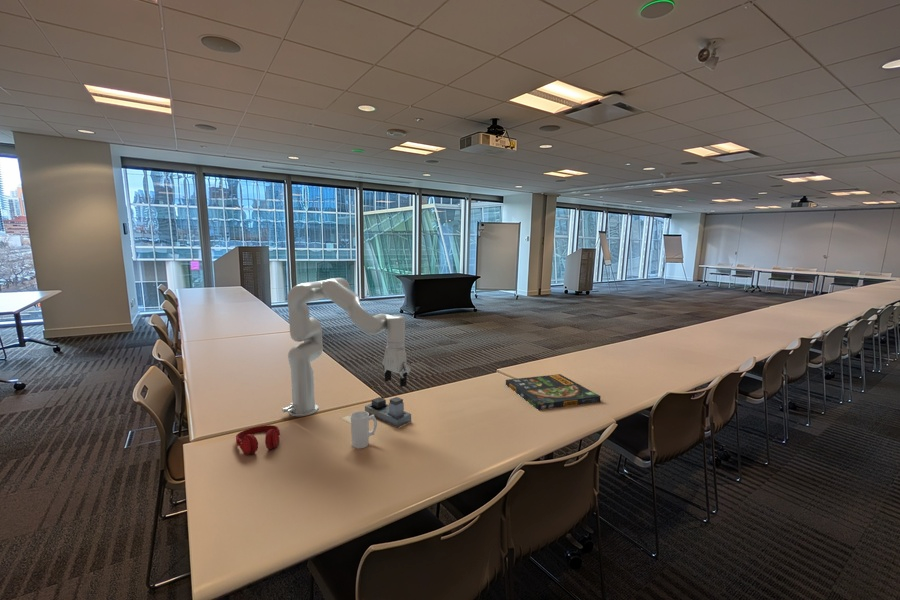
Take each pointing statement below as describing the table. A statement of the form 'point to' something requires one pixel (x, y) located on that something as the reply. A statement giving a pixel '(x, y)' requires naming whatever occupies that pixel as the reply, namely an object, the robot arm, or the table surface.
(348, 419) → the coaster
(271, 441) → the headphones
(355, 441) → the mug
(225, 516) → the table surface
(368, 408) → the pdu strip
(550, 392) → the pizza box
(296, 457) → the table surface
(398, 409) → the plug
